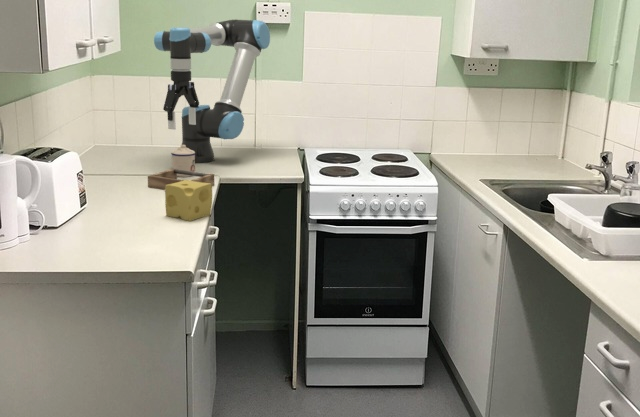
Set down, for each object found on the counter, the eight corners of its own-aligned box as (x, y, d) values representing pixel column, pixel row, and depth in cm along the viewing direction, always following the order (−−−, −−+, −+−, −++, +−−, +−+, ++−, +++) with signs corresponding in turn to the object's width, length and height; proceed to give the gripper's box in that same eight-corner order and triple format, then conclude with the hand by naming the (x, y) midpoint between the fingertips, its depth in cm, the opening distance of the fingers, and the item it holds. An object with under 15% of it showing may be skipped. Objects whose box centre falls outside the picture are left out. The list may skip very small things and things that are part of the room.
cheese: (190, 221, 208) (189, 189, 206) (163, 215, 214) (162, 184, 211) (213, 214, 217) (212, 183, 214) (187, 209, 223) (186, 178, 220)
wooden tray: (173, 179, 262) (173, 168, 261) (214, 184, 255) (214, 174, 254) (147, 187, 249) (147, 176, 248) (190, 193, 242) (190, 182, 241)
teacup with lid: (196, 177, 267) (195, 147, 264) (171, 177, 265) (171, 147, 262) (194, 170, 278) (194, 141, 275) (171, 171, 276) (170, 141, 273)
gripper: (191, 67, 273) (192, 121, 279) (152, 71, 251) (154, 130, 257) (207, 68, 270) (208, 123, 276) (169, 72, 248) (171, 132, 254)
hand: (182, 126), depth 266 cm, fingers open, 13 cm apart
